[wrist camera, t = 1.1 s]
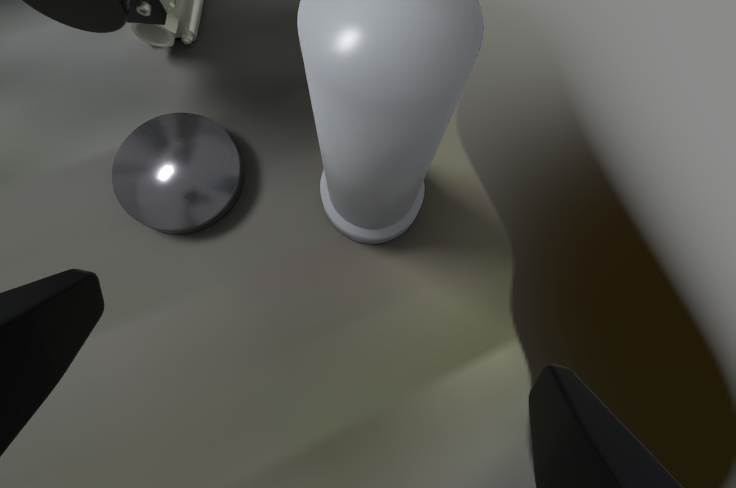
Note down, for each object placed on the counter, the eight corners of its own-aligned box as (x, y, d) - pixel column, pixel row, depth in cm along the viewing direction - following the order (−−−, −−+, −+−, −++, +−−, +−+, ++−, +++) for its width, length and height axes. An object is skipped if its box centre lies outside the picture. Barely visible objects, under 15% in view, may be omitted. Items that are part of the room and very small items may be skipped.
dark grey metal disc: (251, 222, 22) (246, 217, 21) (126, 244, 22) (115, 239, 21) (236, 114, 24) (231, 104, 23) (119, 132, 23) (108, 122, 22)
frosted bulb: (429, 234, 22) (525, 100, 10) (331, 252, 22) (298, 137, 9) (408, 144, 24) (470, -80, 11) (315, 159, 23) (266, -54, 11)
